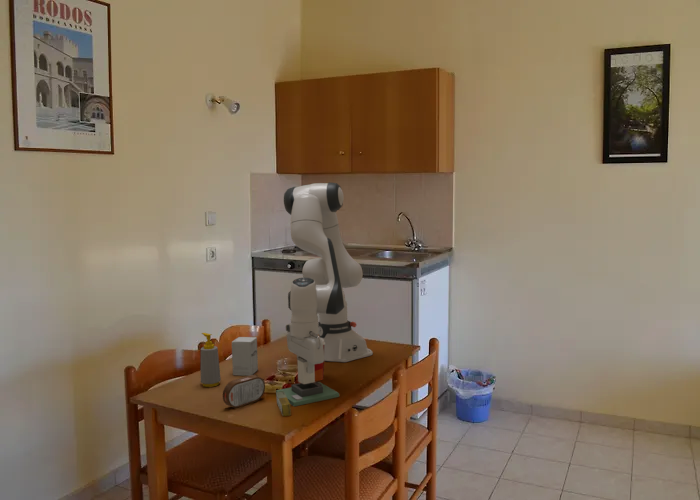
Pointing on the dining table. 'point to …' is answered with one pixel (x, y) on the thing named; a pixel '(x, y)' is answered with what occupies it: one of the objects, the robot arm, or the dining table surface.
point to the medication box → (283, 403)
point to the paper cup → (319, 368)
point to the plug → (304, 372)
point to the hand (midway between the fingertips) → (306, 370)
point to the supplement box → (244, 356)
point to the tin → (243, 391)
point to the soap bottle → (209, 364)
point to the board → (308, 393)
